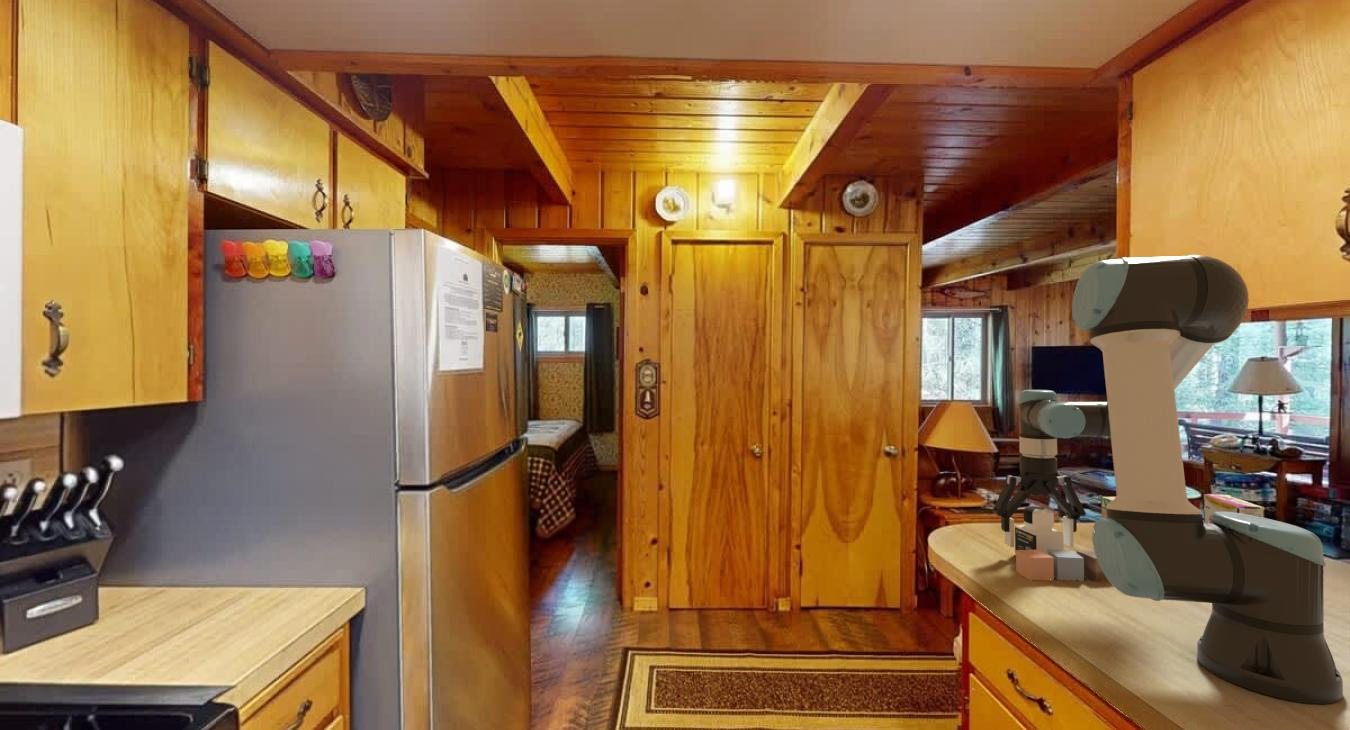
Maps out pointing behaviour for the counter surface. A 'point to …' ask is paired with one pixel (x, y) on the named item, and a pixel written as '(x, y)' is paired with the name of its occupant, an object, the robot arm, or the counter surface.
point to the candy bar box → (1229, 506)
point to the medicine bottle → (1038, 531)
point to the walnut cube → (1092, 565)
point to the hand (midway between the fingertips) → (1038, 545)
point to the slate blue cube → (1067, 565)
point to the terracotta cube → (1035, 564)
